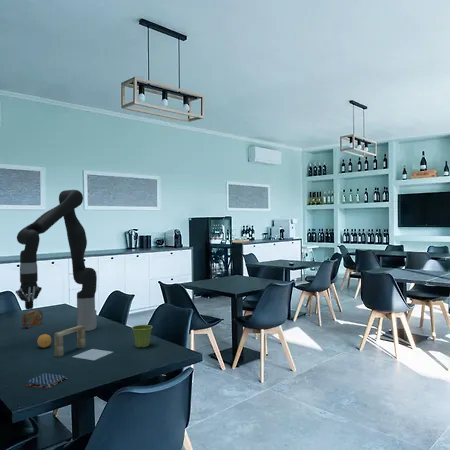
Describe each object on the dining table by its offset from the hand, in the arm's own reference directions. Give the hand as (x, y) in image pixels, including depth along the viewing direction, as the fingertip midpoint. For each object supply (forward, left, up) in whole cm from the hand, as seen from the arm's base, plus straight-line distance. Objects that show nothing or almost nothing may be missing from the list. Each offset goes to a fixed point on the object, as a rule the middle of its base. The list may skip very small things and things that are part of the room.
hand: (29, 308), depth 196 cm
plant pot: (-19, +50, -17) cm, 57 cm away
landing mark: (0, +38, -17) cm, 42 cm away
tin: (-28, -32, -17) cm, 46 cm away
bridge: (0, +25, -17) cm, 31 cm away
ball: (0, +9, -14) cm, 17 cm away
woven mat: (+31, +45, -18) cm, 58 cm away
